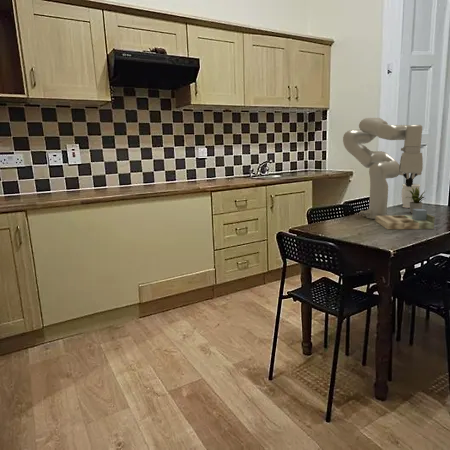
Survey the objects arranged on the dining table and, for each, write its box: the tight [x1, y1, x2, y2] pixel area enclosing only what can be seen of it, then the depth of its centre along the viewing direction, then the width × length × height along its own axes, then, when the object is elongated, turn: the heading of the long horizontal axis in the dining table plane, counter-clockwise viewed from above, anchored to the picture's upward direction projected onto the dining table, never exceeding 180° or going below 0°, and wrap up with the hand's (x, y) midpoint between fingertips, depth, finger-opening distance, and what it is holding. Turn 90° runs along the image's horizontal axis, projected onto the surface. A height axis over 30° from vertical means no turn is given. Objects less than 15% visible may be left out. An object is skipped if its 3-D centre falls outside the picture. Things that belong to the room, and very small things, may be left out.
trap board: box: [374, 213, 436, 230], centre depth 192 cm, size 22×20×6 cm
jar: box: [401, 183, 421, 209], centre depth 240 cm, size 11×10×15 cm
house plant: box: [404, 187, 426, 214], centre depth 222 cm, size 14×14×16 cm
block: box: [411, 208, 428, 220], centre depth 190 cm, size 5×5×5 cm
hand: (408, 186), depth 190 cm, fingers closed
